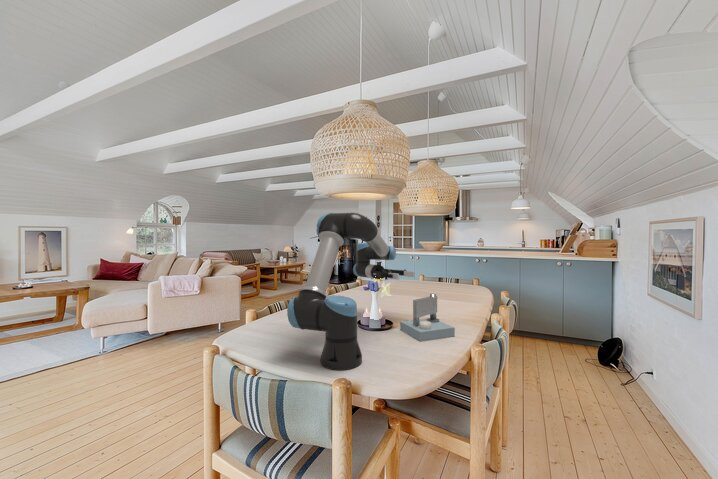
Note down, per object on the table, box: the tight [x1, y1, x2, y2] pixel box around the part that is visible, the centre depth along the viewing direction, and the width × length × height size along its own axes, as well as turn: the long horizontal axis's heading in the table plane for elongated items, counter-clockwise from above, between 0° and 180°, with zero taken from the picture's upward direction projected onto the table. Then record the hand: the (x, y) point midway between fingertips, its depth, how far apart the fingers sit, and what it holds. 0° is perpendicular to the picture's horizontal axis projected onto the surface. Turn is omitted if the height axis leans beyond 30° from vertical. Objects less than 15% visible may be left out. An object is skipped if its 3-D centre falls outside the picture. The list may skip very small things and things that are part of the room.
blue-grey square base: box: [399, 317, 456, 342], centre depth 145 cm, size 18×18×5 cm
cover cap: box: [420, 321, 431, 329], centre depth 140 cm, size 5×5×2 cm
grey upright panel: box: [412, 293, 438, 326], centre depth 147 cm, size 3×16×12 cm, turn 131°
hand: (406, 275), depth 152 cm, fingers open, 11 cm apart
